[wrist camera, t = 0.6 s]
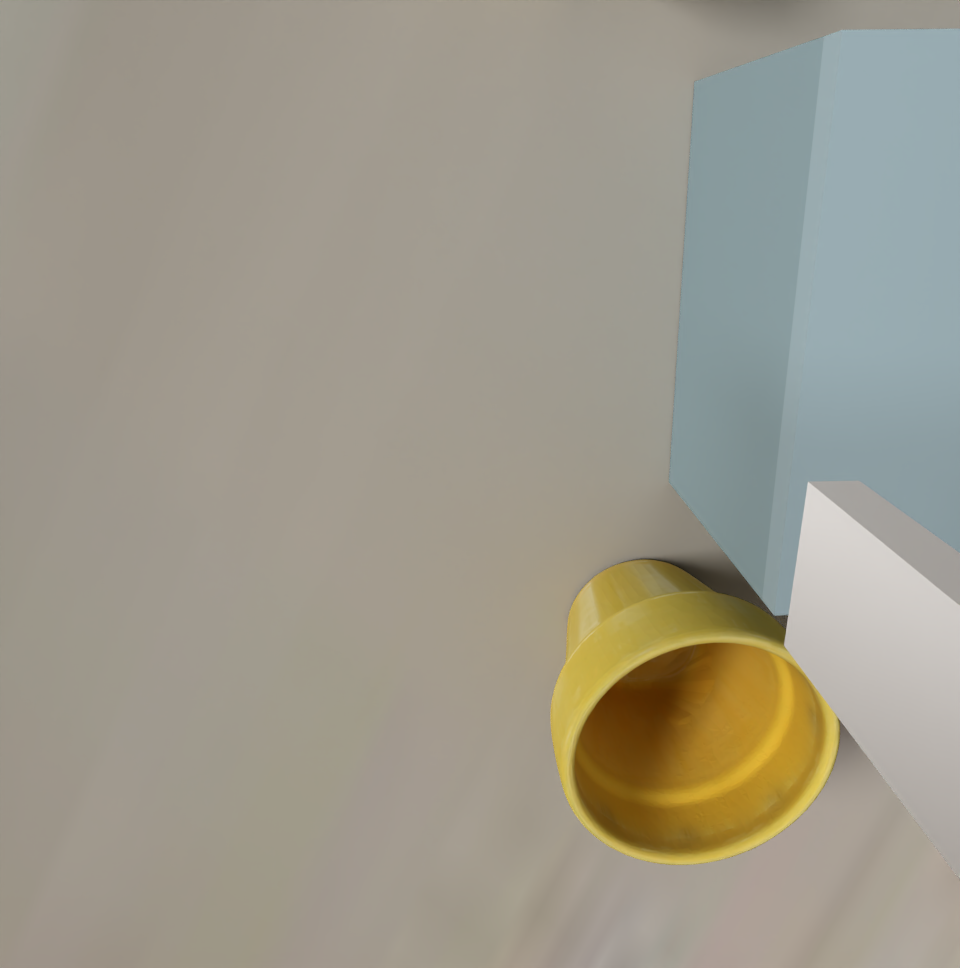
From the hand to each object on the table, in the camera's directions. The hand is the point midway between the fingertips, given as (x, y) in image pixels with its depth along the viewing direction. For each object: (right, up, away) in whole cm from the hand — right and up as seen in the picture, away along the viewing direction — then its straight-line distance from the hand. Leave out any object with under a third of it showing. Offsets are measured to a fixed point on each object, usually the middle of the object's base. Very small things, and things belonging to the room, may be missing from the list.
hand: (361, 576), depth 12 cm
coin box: (+18, +9, +23) cm, 30 cm away
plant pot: (+9, -5, +28) cm, 29 cm away
